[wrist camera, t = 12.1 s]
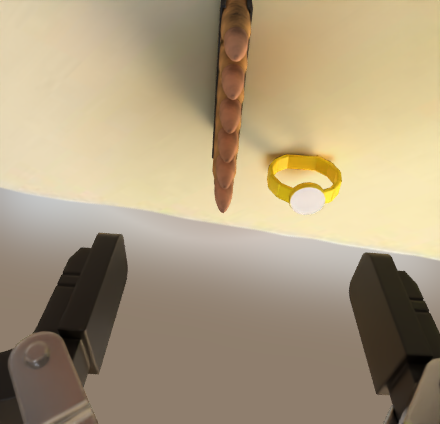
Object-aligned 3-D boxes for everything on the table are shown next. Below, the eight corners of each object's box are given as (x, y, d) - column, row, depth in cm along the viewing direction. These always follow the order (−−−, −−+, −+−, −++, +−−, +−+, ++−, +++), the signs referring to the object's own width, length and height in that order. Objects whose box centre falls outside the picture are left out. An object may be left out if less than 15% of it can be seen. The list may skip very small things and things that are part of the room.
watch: (336, 148, 32) (353, 188, 28) (329, 174, 34) (344, 216, 30) (267, 146, 32) (273, 186, 28) (264, 172, 34) (269, 214, 30)
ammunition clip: (236, 131, 32) (236, 225, 22) (214, 129, 32) (206, 223, 22) (250, -14, 25) (260, 36, 16) (222, -16, 25) (216, 33, 16)
